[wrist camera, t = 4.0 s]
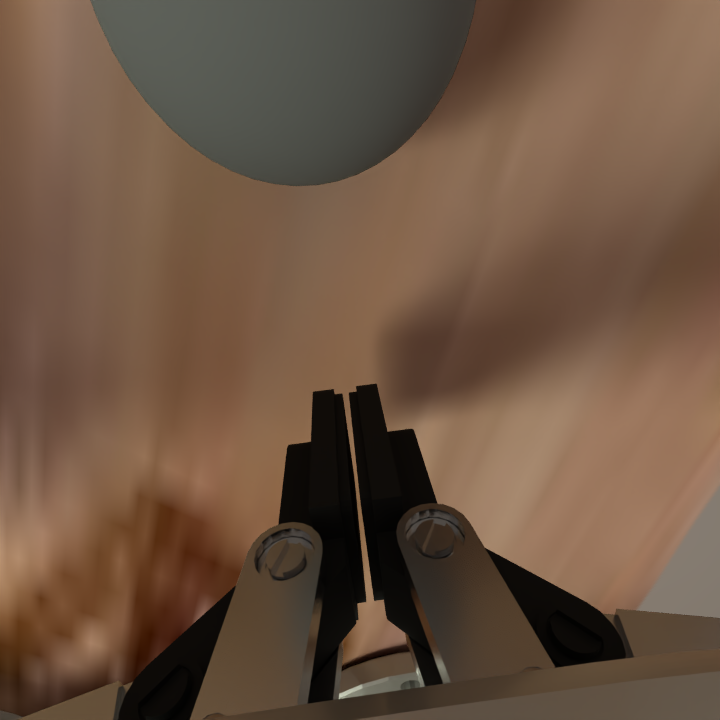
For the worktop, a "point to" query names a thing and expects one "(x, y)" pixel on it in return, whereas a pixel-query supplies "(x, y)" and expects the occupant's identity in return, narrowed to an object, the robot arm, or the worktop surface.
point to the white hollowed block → (8, 716)
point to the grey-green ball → (290, 76)
